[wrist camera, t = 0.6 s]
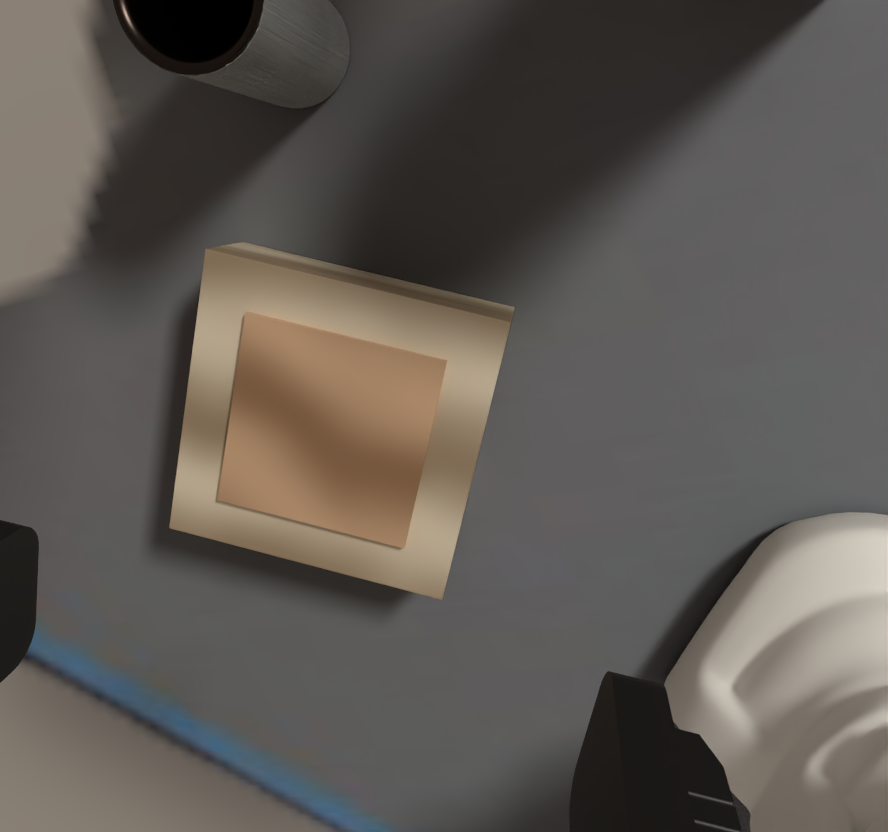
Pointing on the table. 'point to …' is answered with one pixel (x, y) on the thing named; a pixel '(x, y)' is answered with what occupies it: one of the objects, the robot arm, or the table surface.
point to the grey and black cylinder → (245, 45)
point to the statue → (798, 678)
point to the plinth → (334, 415)
